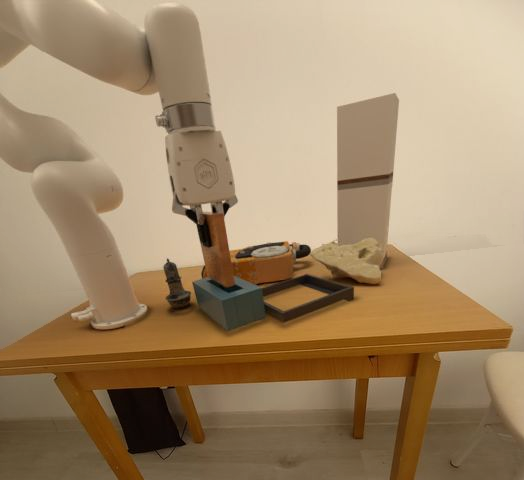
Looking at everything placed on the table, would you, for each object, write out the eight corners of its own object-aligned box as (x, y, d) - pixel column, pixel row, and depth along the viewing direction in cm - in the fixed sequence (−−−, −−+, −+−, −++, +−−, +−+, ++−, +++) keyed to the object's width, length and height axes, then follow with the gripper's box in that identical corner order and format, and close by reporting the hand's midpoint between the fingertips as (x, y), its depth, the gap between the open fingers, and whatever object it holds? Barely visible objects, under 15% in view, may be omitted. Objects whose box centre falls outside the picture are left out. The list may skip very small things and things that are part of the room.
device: (210, 245, 91) (307, 231, 89) (216, 271, 96) (309, 259, 93) (196, 263, 72) (319, 246, 70) (204, 295, 76) (320, 280, 74)
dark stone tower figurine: (192, 302, 73) (179, 253, 67) (196, 310, 68) (182, 257, 62) (168, 308, 71) (152, 258, 65) (171, 317, 66) (154, 263, 60)
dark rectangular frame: (283, 326, 55) (282, 313, 53) (245, 304, 67) (243, 293, 66) (353, 299, 61) (354, 287, 60) (307, 283, 74) (306, 273, 72)
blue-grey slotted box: (228, 334, 55) (221, 300, 51) (199, 310, 68) (191, 281, 64) (266, 320, 58) (261, 287, 54) (231, 300, 71) (225, 272, 67)
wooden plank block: (235, 285, 56) (223, 213, 49) (226, 287, 55) (213, 214, 49) (215, 275, 63) (202, 211, 57) (207, 277, 63) (193, 212, 56)
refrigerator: (386, 257, 84) (399, 100, 66) (382, 269, 76) (395, 92, 58) (345, 258, 89) (347, 111, 71) (337, 269, 81) (337, 106, 63)
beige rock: (395, 284, 71) (366, 237, 76) (401, 268, 64) (368, 218, 69) (336, 312, 73) (311, 264, 78) (335, 299, 66) (308, 248, 71)
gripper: (144, 120, 40) (178, 257, 50) (245, 116, 46) (259, 238, 56) (135, 130, 46) (167, 251, 55) (226, 126, 52) (241, 235, 62)
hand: (213, 244), depth 55 cm, fingers closed on wooden plank block, 1 cm apart
